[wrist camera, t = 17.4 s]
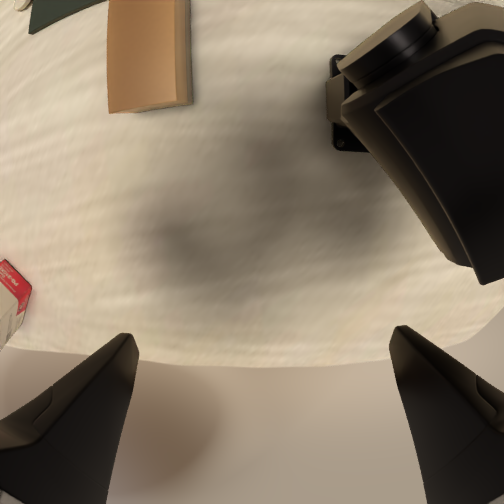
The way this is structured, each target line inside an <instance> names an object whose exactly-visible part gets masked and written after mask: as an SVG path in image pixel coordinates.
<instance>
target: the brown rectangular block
mask: <svg viewBox="0 0 504 504" xmlns="http://www.w3.org/2000/svg"><path fill="white" fill-rule="evenodd" d="M107 89H108V108H109V114H114V113H138V112H144V111H149V110H155V109H161V108H168V107H175V106H182V105H190V104H193V93H192V71H191V40H190V0H109V9H108V26H107Z"/></svg>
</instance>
